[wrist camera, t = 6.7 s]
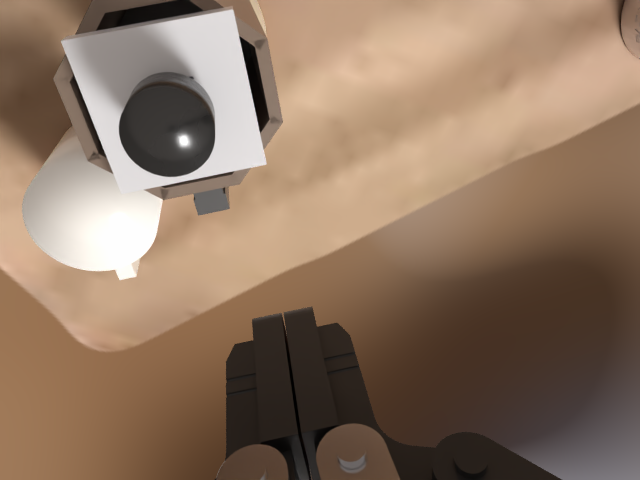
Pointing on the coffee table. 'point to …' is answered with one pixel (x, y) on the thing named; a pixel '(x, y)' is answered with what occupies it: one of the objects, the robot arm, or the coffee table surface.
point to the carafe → (179, 57)
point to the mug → (88, 213)
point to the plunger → (168, 125)
